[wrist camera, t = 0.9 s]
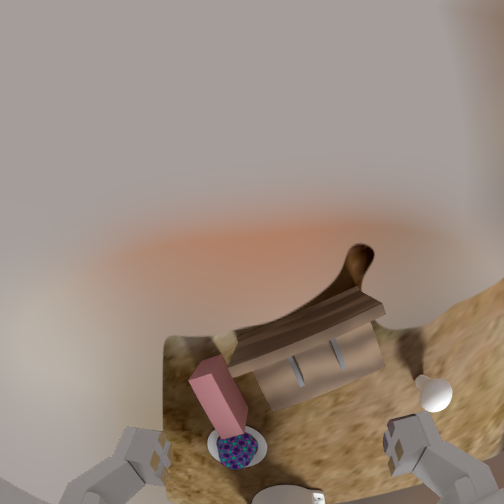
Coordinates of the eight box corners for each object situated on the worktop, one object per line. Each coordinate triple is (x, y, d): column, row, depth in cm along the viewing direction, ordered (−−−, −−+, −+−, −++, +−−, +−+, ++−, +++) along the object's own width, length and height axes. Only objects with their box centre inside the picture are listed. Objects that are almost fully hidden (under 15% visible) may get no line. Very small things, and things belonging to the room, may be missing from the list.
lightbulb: (405, 369, 50) (429, 393, 39) (432, 360, 49) (459, 381, 38) (405, 395, 50) (426, 422, 39) (431, 387, 49) (456, 411, 38)
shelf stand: (383, 364, 50) (409, 394, 37) (272, 409, 52) (271, 450, 39) (356, 285, 50) (380, 298, 37) (237, 336, 52) (225, 363, 39)
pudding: (196, 433, 53) (190, 447, 48) (247, 413, 52) (245, 428, 47) (228, 471, 53) (224, 486, 48) (278, 454, 52) (277, 469, 47)
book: (248, 407, 52) (243, 433, 43) (229, 413, 53) (221, 439, 44) (221, 353, 52) (211, 373, 43) (201, 360, 53) (188, 380, 44)
